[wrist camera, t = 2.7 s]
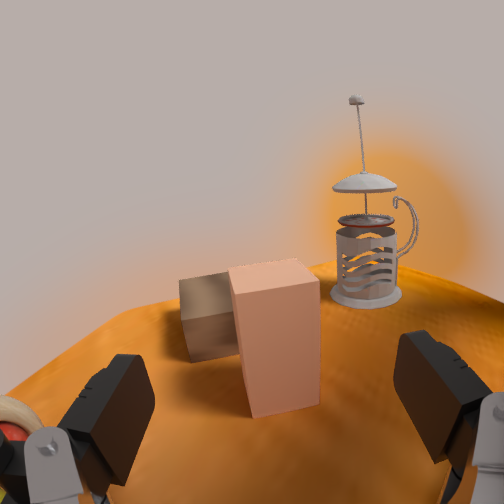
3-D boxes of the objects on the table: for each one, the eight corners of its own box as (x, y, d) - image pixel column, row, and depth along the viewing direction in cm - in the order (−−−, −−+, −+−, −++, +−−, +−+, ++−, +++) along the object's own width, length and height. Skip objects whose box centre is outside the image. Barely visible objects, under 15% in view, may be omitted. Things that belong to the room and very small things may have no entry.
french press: (328, 280, 44) (316, 104, 37) (405, 276, 41) (398, 102, 35) (330, 310, 35) (314, 87, 28) (423, 305, 32) (419, 86, 26)
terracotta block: (300, 367, 25) (295, 258, 23) (319, 404, 20) (319, 280, 18) (243, 378, 25) (227, 267, 22) (252, 418, 20) (234, 294, 17)
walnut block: (269, 301, 40) (266, 265, 39) (301, 342, 30) (299, 297, 28) (186, 316, 38) (178, 280, 37) (191, 365, 28) (181, 320, 26)
